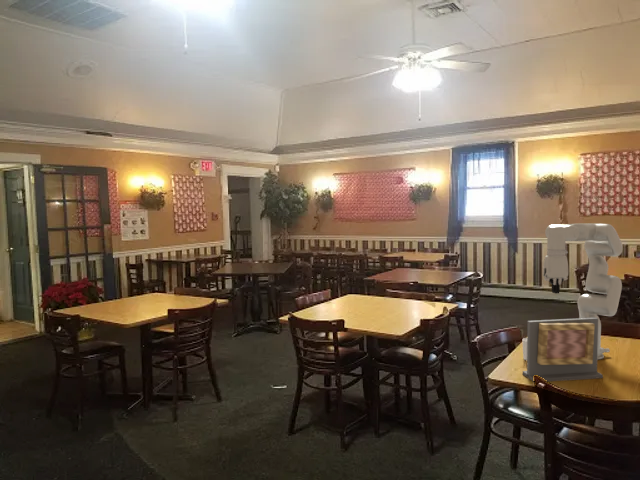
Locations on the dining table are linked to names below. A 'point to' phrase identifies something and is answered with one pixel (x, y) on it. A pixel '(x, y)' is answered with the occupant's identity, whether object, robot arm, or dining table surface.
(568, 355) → the picture frame
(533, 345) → the board
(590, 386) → the dining table surface
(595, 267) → the robot arm
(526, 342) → the white cup
